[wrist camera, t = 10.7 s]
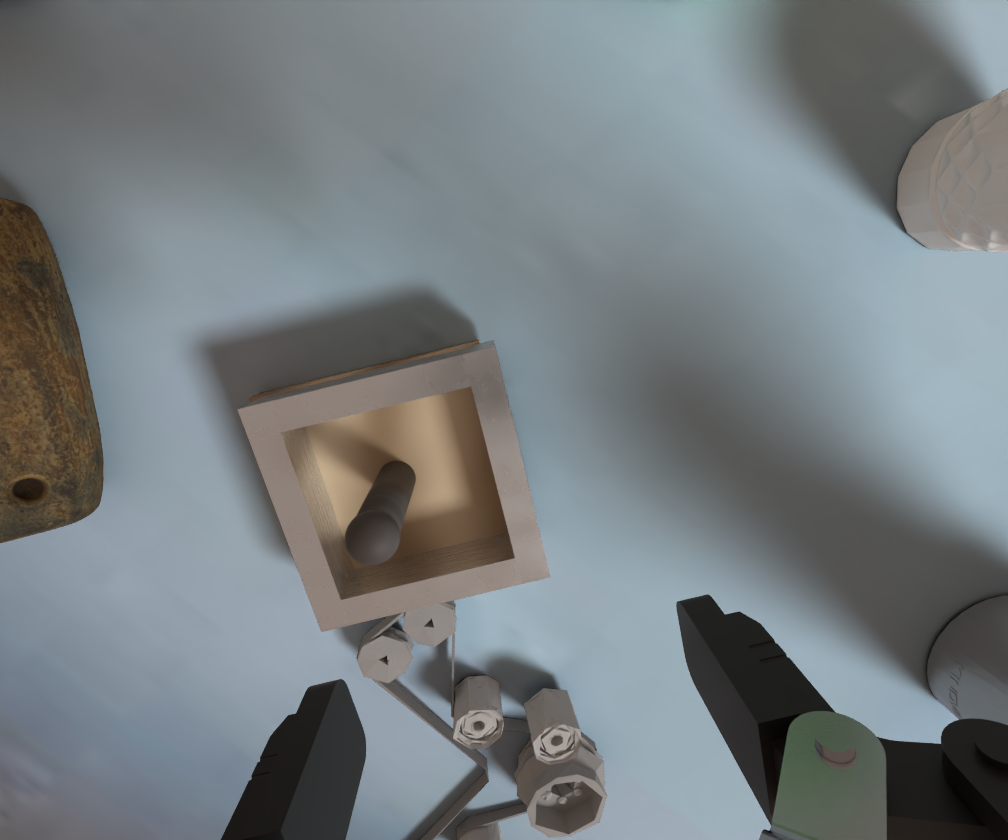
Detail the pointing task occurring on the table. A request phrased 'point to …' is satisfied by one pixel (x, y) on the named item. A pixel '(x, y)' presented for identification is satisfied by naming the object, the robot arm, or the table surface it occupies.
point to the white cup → (959, 181)
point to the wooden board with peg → (407, 474)
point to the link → (312, 518)
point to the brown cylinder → (42, 389)
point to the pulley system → (496, 734)
